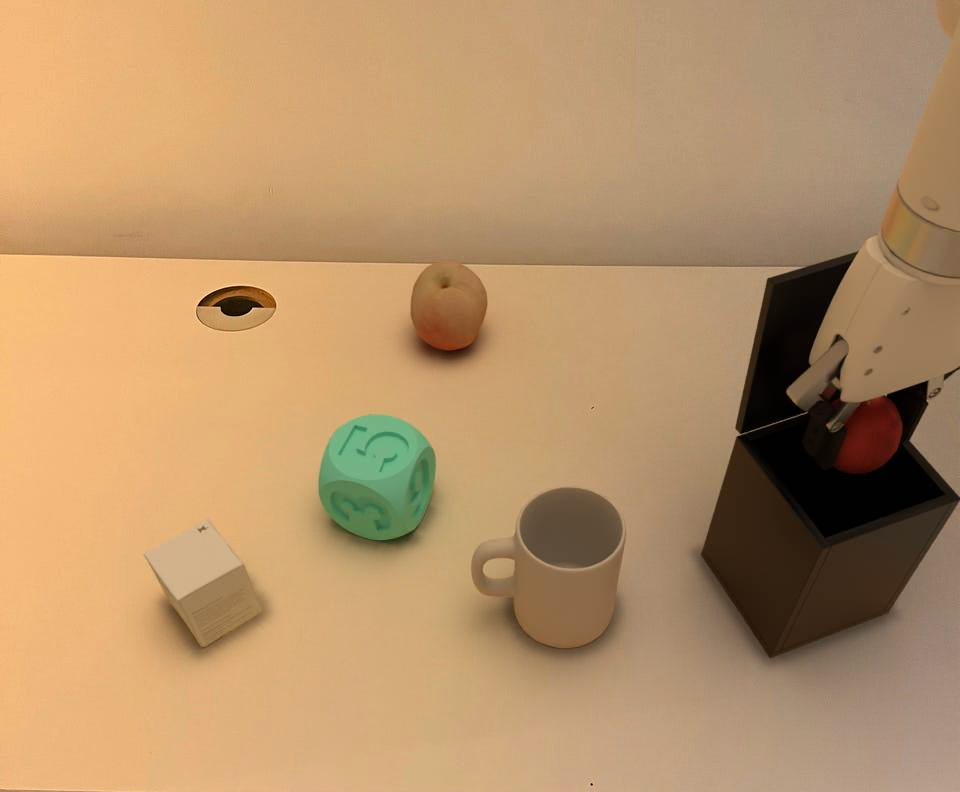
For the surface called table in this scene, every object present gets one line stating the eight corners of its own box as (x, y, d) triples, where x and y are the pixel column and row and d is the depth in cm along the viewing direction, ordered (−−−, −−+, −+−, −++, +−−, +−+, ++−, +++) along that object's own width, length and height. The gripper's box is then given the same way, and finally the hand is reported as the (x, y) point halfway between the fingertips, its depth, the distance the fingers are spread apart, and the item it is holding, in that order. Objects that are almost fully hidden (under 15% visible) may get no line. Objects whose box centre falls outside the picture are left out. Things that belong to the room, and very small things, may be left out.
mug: (606, 564, 82) (619, 481, 73) (618, 647, 78) (634, 569, 69) (471, 571, 82) (466, 489, 73) (475, 654, 78) (471, 577, 69)
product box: (168, 602, 81) (140, 551, 75) (229, 567, 83) (207, 515, 77) (202, 650, 79) (176, 601, 72) (264, 613, 81) (245, 562, 74)
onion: (850, 430, 74) (885, 350, 67) (897, 479, 71) (939, 401, 64) (789, 455, 72) (818, 377, 66) (835, 507, 70) (871, 430, 63)
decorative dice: (360, 465, 89) (349, 403, 82) (439, 486, 88) (433, 424, 81) (325, 528, 85) (310, 468, 78) (407, 551, 84) (398, 492, 77)
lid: (926, 238, 62) (918, 232, 62) (773, 284, 60) (766, 277, 60) (872, 391, 72) (866, 385, 72) (740, 434, 70) (734, 428, 70)
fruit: (397, 347, 98) (389, 282, 91) (439, 303, 101) (435, 237, 95) (461, 374, 95) (459, 309, 89) (502, 328, 99) (502, 263, 92)
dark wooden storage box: (888, 613, 79) (961, 498, 67) (769, 658, 77) (822, 549, 65) (813, 514, 85) (867, 392, 72) (700, 554, 83) (736, 435, 70)
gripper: (1032, 153, 57) (921, 377, 73) (788, 224, 54) (726, 442, 70) (1119, 222, 54) (983, 443, 69) (863, 303, 51) (780, 515, 66)
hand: (855, 441), depth 69 cm, fingers closed on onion, 5 cm apart
